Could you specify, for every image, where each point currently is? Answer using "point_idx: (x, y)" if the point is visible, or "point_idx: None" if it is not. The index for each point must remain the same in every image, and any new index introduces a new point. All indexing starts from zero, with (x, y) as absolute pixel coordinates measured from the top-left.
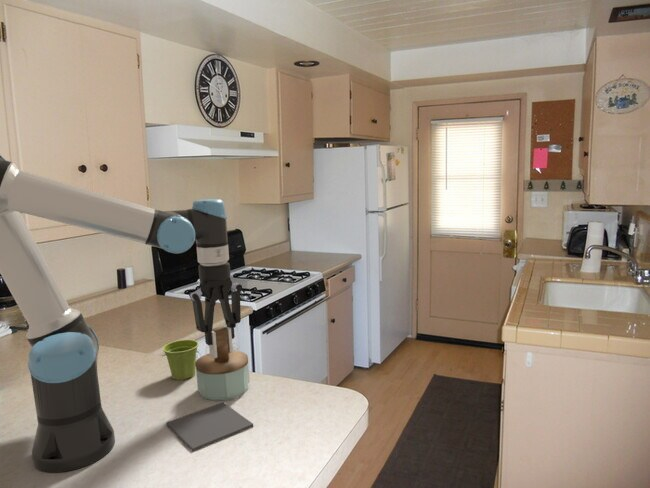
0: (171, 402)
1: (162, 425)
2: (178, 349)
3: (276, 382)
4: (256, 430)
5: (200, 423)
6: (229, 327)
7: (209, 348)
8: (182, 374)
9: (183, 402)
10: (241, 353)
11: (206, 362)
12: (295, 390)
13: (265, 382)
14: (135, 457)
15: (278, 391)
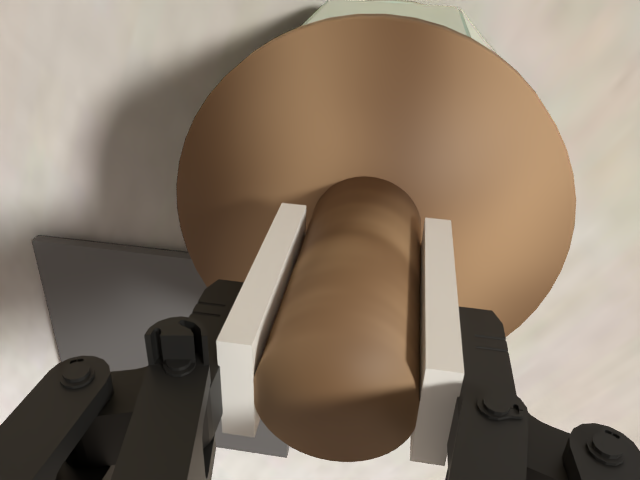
0: (101, 54)
1: (25, 224)
2: None
3: (624, 278)
4: (283, 468)
5: (142, 337)
6: (447, 442)
7: (267, 237)
8: None
9: (153, 104)
10: (547, 238)
11: (259, 179)
12: (600, 393)
13: (590, 236)
14: None
15: (545, 349)
